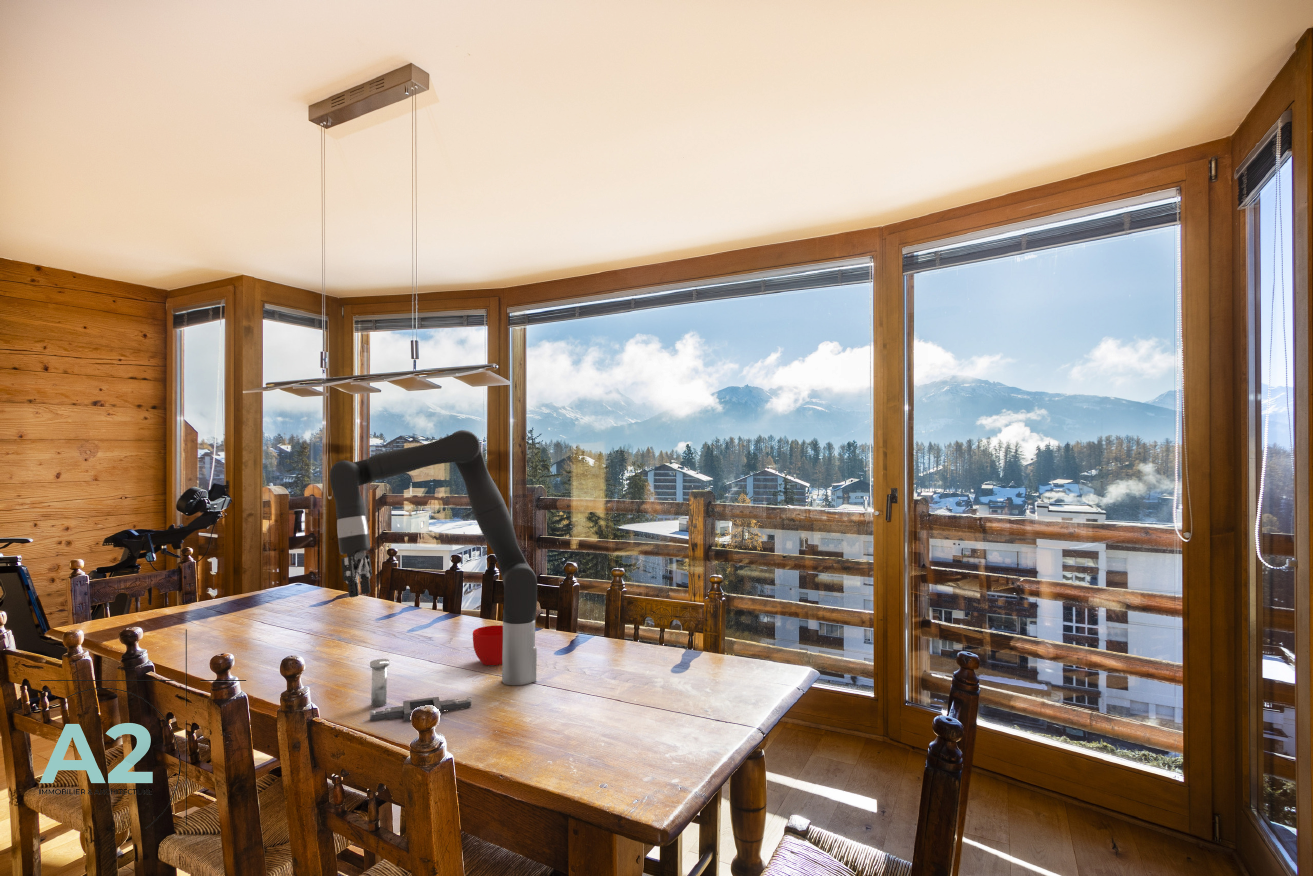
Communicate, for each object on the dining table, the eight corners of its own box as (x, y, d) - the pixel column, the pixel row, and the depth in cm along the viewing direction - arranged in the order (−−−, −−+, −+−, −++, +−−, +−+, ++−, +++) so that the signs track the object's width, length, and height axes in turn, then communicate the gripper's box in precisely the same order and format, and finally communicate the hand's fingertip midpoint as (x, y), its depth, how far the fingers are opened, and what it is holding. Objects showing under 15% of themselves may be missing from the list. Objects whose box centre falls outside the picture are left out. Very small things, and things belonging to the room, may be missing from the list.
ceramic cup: (498, 674, 191) (499, 640, 192) (463, 663, 202) (464, 631, 202) (531, 664, 202) (532, 631, 202) (496, 654, 212) (497, 623, 212)
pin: (388, 700, 170) (389, 658, 171) (388, 706, 166) (389, 663, 166) (369, 702, 168) (370, 660, 169) (368, 709, 164) (369, 665, 165)
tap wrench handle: (469, 700, 170) (469, 692, 171) (473, 712, 163) (473, 703, 163) (369, 713, 161) (370, 705, 161) (369, 726, 153) (369, 717, 153)
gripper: (357, 532, 167) (365, 595, 165) (376, 532, 181) (383, 590, 179) (327, 537, 166) (335, 601, 164) (349, 536, 180) (356, 595, 178)
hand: (360, 595), depth 172 cm, fingers open, 8 cm apart
